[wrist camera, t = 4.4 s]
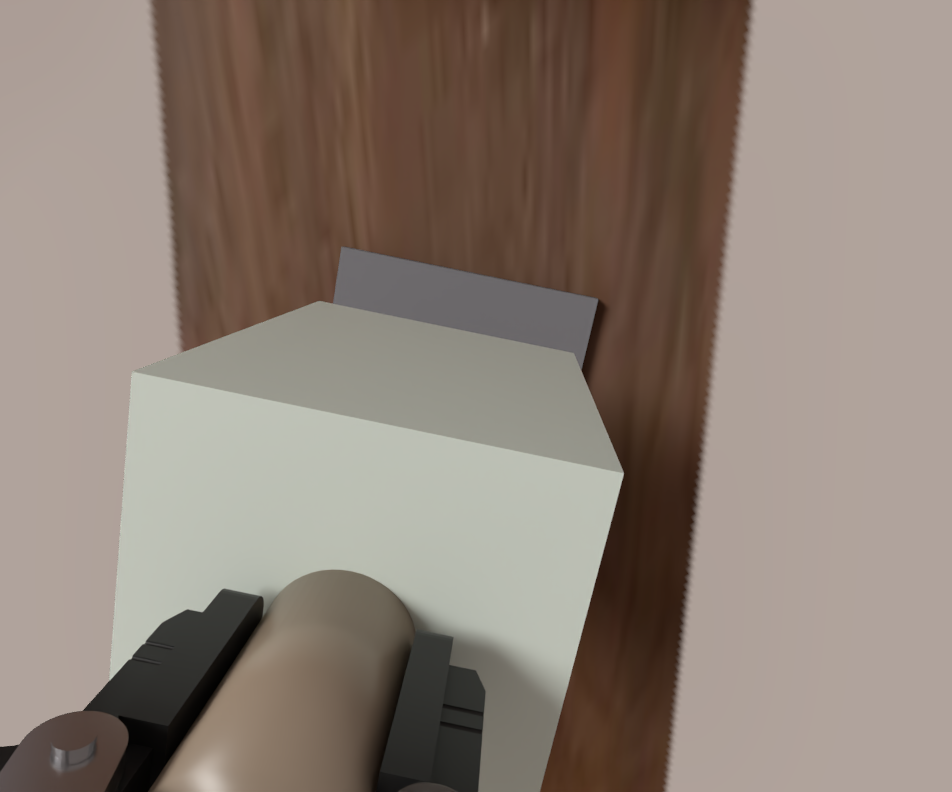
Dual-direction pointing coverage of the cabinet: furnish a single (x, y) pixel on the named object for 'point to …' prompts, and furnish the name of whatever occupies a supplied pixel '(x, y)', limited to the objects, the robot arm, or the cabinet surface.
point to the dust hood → (363, 536)
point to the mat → (465, 301)
